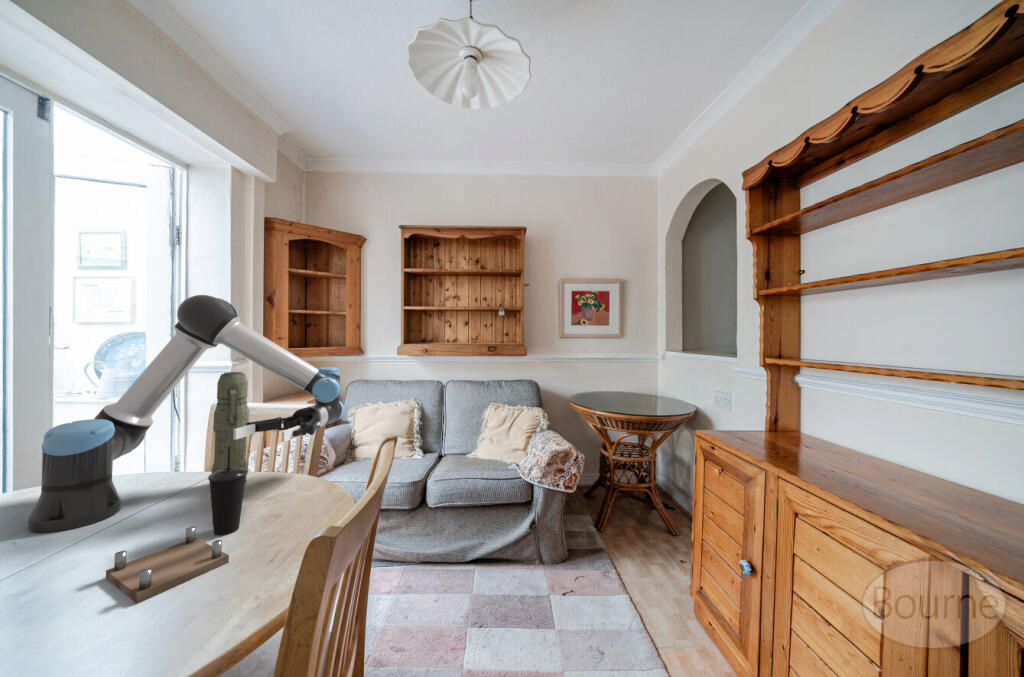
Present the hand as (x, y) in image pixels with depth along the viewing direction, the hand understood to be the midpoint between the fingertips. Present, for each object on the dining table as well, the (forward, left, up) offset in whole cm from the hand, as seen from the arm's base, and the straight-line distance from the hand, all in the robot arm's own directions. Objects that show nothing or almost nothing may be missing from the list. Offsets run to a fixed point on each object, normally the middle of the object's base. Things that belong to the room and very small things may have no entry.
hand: (258, 435), depth 99 cm
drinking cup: (+3, -8, -21) cm, 23 cm away
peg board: (+11, -22, -21) cm, 32 cm away
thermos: (-27, +7, -21) cm, 35 cm away
